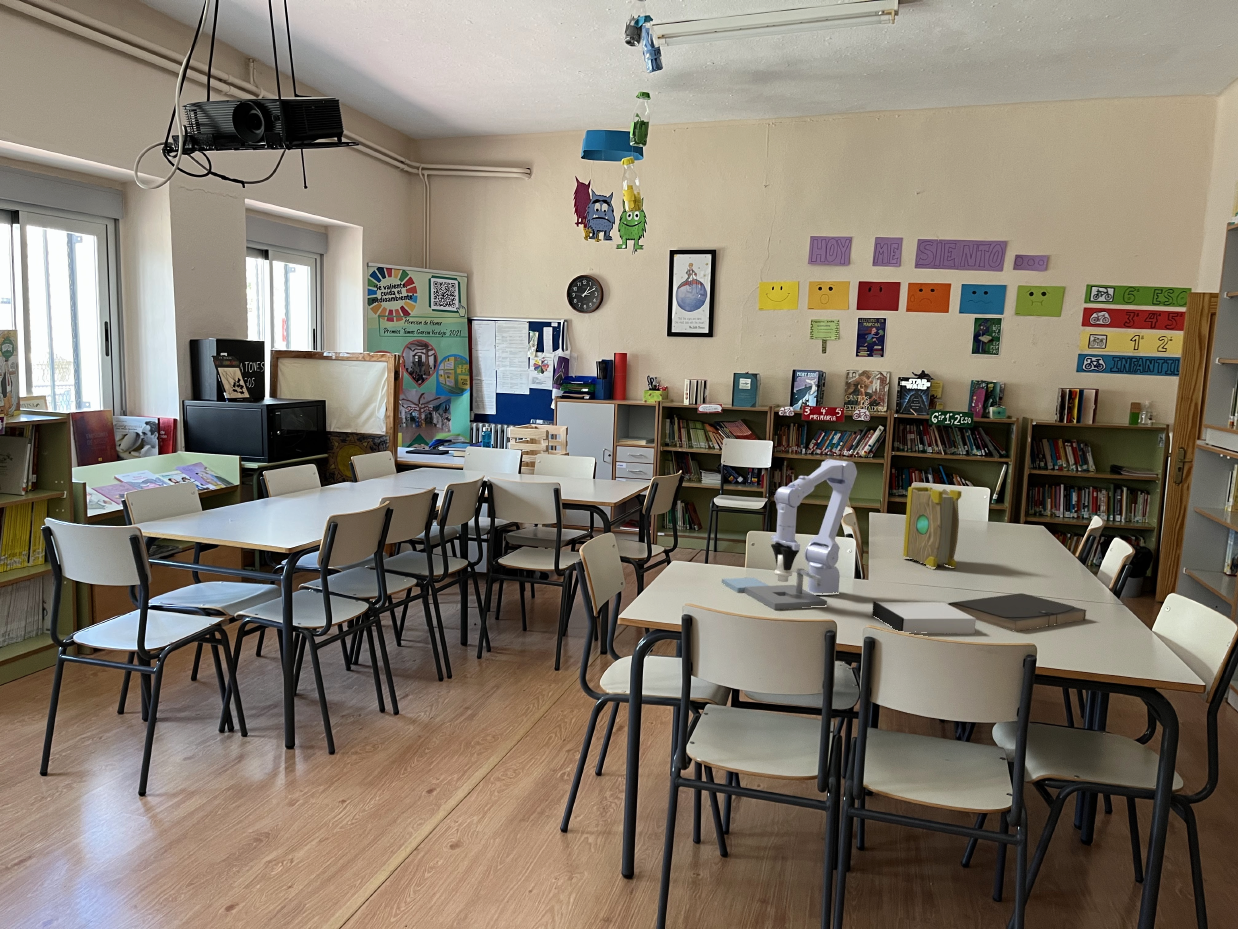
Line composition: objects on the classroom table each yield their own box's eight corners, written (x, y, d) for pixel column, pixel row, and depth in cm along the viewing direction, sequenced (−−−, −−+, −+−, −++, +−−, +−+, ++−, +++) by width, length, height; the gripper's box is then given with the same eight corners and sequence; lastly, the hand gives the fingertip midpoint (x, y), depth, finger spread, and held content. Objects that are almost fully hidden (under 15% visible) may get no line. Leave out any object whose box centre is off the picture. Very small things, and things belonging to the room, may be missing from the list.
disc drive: (871, 617, 250) (872, 601, 249) (941, 617, 253) (943, 601, 253) (900, 635, 232) (901, 618, 232) (974, 635, 236) (976, 617, 235)
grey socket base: (793, 590, 276) (795, 565, 275) (826, 607, 257) (828, 580, 256) (744, 592, 270) (745, 567, 270) (774, 610, 251) (776, 582, 251)
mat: (753, 582, 286) (753, 577, 286) (770, 590, 274) (770, 586, 274) (721, 583, 282) (721, 578, 282) (737, 592, 271) (737, 587, 271)
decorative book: (900, 558, 335) (906, 484, 332) (923, 558, 338) (929, 484, 335) (933, 570, 316) (940, 491, 313) (957, 569, 319) (964, 491, 316)
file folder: (1016, 620, 238) (947, 600, 259) (1015, 634, 238) (946, 613, 260) (1088, 609, 254) (1017, 591, 275) (1086, 622, 254) (1016, 603, 275)
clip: (794, 576, 265) (795, 568, 265) (801, 576, 266) (801, 568, 266) (815, 586, 254) (815, 577, 254) (822, 585, 255) (822, 577, 255)
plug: (786, 578, 266) (787, 553, 265) (794, 582, 261) (796, 557, 260) (771, 578, 264) (772, 553, 264) (779, 583, 259) (781, 557, 259)
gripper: (763, 521, 267) (761, 563, 268) (786, 530, 253) (783, 574, 254) (783, 521, 269) (781, 562, 270) (807, 529, 255) (804, 573, 256)
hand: (783, 568), depth 262 cm, fingers closed on plug, 4 cm apart
